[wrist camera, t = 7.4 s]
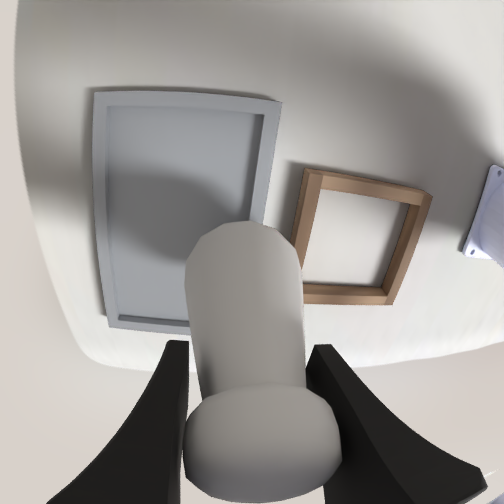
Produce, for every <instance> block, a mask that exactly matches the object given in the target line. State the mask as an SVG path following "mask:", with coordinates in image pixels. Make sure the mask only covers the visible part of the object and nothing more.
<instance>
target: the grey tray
mask: <svg viewBox="0 0 504 504" xmlns="http://www.w3.org/2000/svg"><path fill="white" fill-rule="evenodd" d="M281 106H282V102H277V101H270V100H263V99H256V98H248V97H240V96H231V95H220V94H209V93H195V92H176V91H104V92H94V106H93V129H92V179H93V203H94V218H95V231H96V242H97V251H98V260H99V268H100V276H101V283H102V289H103V296H104V302H105V308H106V314H107V319H108V324H109V327H111V328H119V329H128V330H137V331H146V332H156V333H167V334H179V335H191V331H190V324H189V317H188V310H187V303H186V295H185V287H184V280H185V266H186V260H187V259H188V257H189V255H190V254H191V252H192V250H193V249H194V247H195V246H196V244H197V242H198V241H199V239H200V237H201V236H203V235H205V234H206V233H208V232H210V231H212V230H213V229H215V228H217V227H218V226H220V225H222V224H224V223H231V222H240V221H250V220H251V221H254V222H257V223H260V224H263V219H264V212H265V206H266V200H267V194H268V188H269V182H270V175H271V169H272V163H273V157H274V150H275V144H276V138H277V132H278V125H279V119H280V113H281Z"/></svg>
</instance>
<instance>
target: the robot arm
mask: <svg viewBox="0 0 504 504" xmlns="http://www.w3.org/2000/svg"><path fill="white" fill-rule="evenodd" d="M463 255H465V256H466V257H474V258H483V259H491V260H494V261H496V262H497V263H498V264H499V265H500V266H501V267H502V268H503V269H504V169H503V168H501V167H499V166H496V165H492V166H491V167H490V170H489V174H488V177H487V181H486V184H485V188H484V191H483V194H482V197H481V201H480V204H479V207H478V210H477V213H476V216H475V218H474V221H473V224H472V227H471V230H470V232H469V235H468V238H467V240H466V243H465V245H464V248H463ZM306 389H308V390H310V391H311V392H313V393H314V394H316V395H318V396H319V397H321V398H323V399H324V400H325V401H326V402H327V403H328V404H329V405H330V407H331V408H332V411H333V414H334V417H335V419H336V422H337V425H338V429H339V434H340V439H341V449H342V462H341V464H340V465H339V467H338V468H337V470H336V471H335V473H334V474H333V475H332V476H331V478H330V479H329V480H328V481H327V482H326V483H325V484H324V485H323V488H324V497H325V504H465V503H467V502H468V501H470V500H472V499H473V498H475V497H476V496H478V495H479V494H481V493H482V492H484V491H485V490H486V489H487V487H488V486H487V484H486V481H485V479H484V477H483V475H482V472H481V470H480V468H478V467H476V466H474V465H471V464H469V463H467V462H464V461H462V460H460V459H458V458H456V457H454V456H452V455H450V454H448V453H446V452H445V451H443V450H441V449H439V448H438V447H436V446H435V445H433V444H431V443H430V442H429V441H427V440H426V439H424V438H423V437H421V436H420V435H419V434H417V433H416V432H415V431H413V430H412V429H411V428H409V427H408V426H407V425H406V424H405V423H403V422H402V421H401V420H400V419H399V418H398V417H396V416H395V415H394V414H393V413H392V412H391V411H390V410H389V409H388V408H387V407H386V406H385V405H384V404H383V403H382V402H381V401H380V400H379V399H378V398H377V397H376V396H375V395H374V394H373V393H372V392H371V391H370V390H369V389H368V387H367V386H366V385H365V384H364V383H363V382H362V381H361V380H360V378H359V377H357V375H356V374H355V373H354V371H353V370H352V369H351V368H350V367H349V365H348V364H347V363H346V362H345V361H344V359H343V358H342V357H341V356H340V354H339V353H338V352H337V351H336V350H335V348H334V347H333V346H332V345H331V344H321V345H314V348H313V350H312V353H311V356H310V358H309V361H308V364H307V366H306ZM188 392H189V341H180V340H169V341H168V342H167V343H166V346H165V349H164V352H163V354H162V357H161V359H160V361H159V363H158V366H157V368H156V370H155V372H154V374H153V376H152V378H151V379H150V381H149V383H148V385H147V387H146V389H145V390H144V392H143V394H142V395H141V397H140V399H139V400H138V402H137V403H136V405H135V407H134V408H133V410H132V411H131V413H130V414H129V416H128V417H127V419H126V420H125V422H124V423H123V424H122V426H121V427H120V429H119V430H118V431H117V433H116V434H115V435H114V436H113V438H112V439H111V440H110V441H109V443H108V444H107V445H106V446H105V447H104V449H103V450H102V451H101V452H100V453H99V454H98V456H97V457H96V458H95V459H94V460H93V461H92V462H91V463H90V464H89V465H88V466H87V467H86V468H85V469H84V470H83V471H82V472H81V473H80V474H79V475H78V476H77V477H76V478H75V479H74V480H73V481H72V482H71V483H70V484H68V485H67V486H66V487H65V488H64V489H62V490H61V491H60V492H59V493H58V494H56V495H55V496H54V497H53V498H51V499H50V500H49V501H48V502H47V503H46V504H180V468H181V457H182V441H183V435H184V428H185V423H186V418H187V410H188ZM487 504H504V493H503V494H501V495H500V496H498V497H497V498H495V499H494V500H492V501H491V502H489V503H487Z"/></svg>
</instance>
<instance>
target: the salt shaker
mask: <svg viewBox="0 0 504 504" xmlns="http://www.w3.org/2000/svg"><path fill="white" fill-rule="evenodd" d="M184 287H185V295H186V303H187V310H188V317H189V324H190V331H191V338H192V344H193V350H194V356H195V362H196V368H197V374H198V380H199V385H200V391H201V396H202V402H201V403H200V404H199V406H198V407H197V408H196V409H195V410H194V411H193V412H192V413H191V414H190V416H189V417H188V419H187V421H186V423H185V428H184V435H183V441H182V450H183V463H184V468H185V475H186V478H187V479H188V480H189V481H190V482H192V483H193V484H194V485H195V486H196V487H197V488H199V489H200V490H202V491H203V492H205V493H206V494H208V495H209V496H211V497H214V498H218V499H222V500H225V501H230V502H239V503H240V502H241V503H267V502H275V501H282V500H286V499H290V498H293V497H297V496H301V495H304V494H306V493H309V492H311V491H313V490H315V489H317V488H319V487H321V486H323V485H324V484H325V483H326V482H327V481H328V480H329V479H330V478H331V476H332V475H333V474H334V473H335V471H336V470H337V468H338V467H339V465H340V464H341V462H342V449H341V439H340V434H339V429H338V425H337V422H336V419H335V417H334V414H333V411H332V408H331V407H330V405H329V404H328V403H327V402H326V401H325V400H324V399H323V398H321V397H319V396H318V395H316V394H314V393H313V392H311V391H310V390H308V389H306V368H305V329H304V302H303V281H302V270H301V267H300V263H299V259H298V255H297V252H296V249H295V248H294V247H293V246H292V245H291V244H290V243H289V242H288V241H287V240H286V239H285V238H284V237H283V236H282V235H281V234H280V233H279V232H278V231H277V230H276V229H275V228H272V227H269V226H266V225H263V224H260V223H257V222H254V221H251V220H250V221H240V222H231V223H224V224H222V225H220V226H218V227H217V228H215V229H213V230H212V231H210V232H208V233H206V234H205V235H203V236H201V237H200V239H199V241H198V242H197V244H196V246H195V247H194V249H193V250H192V252H191V254H190V255H189V257H188V259H187V260H186V266H185V280H184Z"/></svg>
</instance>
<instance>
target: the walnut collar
mask: <svg viewBox="0 0 504 504" xmlns="http://www.w3.org/2000/svg"><path fill="white" fill-rule="evenodd" d="M320 189H326V190H333V191H339V192H346V193H352V194H358V195H364V196H370V197H376V198H382V199H387V200H393V201H398V202H403V203H409V204H410V206H409V209H408V213H407V216H406V219H405V222H404V225H403V228H402V231H401V234H400V237H399V240H398V243H397V246H396V249H395V252H394V254H393V257H392V260H391V263H390V265H389V268H388V271H387V273H386V276H385V279H384V281H383V284H382V286H381V287H357V286H333V285H312V284H303V302H304V304H332V305H393V302H394V300H395V298H396V295H397V293H398V291H399V288H400V286H401V284H402V281H403V279H404V276H405V274H406V271H407V269H408V266H409V264H410V261H411V259H412V256H413V253H414V251H415V248H416V245H417V242H418V240H419V237H420V234H421V231H422V228H423V225H424V222H425V219H426V216H427V213H428V210H429V207H430V204H431V200H432V197H433V196H431V195H430V194H428V193H426V192H425V191H423V190H419V189H415V188H410V187H406V186H401V185H397V184H392V183H387V182H382V181H377V180H372V179H367V178H362V177H356V176H351V175H345V174H339V173H334V172H328V171H321V170H315V169H308V168H304V173H303V179H302V184H301V189H300V194H299V199H298V204H297V209H296V214H295V219H294V224H293V229H292V234H291V238H290V244H291V245H292V246H293V247H294V248H295V249H296V252H297V255H298V259H299V263H300V267H301V270H302V267H303V263H304V259H305V255H306V250H307V246H308V242H309V238H310V234H311V229H312V225H313V221H314V216H315V212H316V207H317V203H318V198H319V194H320Z"/></svg>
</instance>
